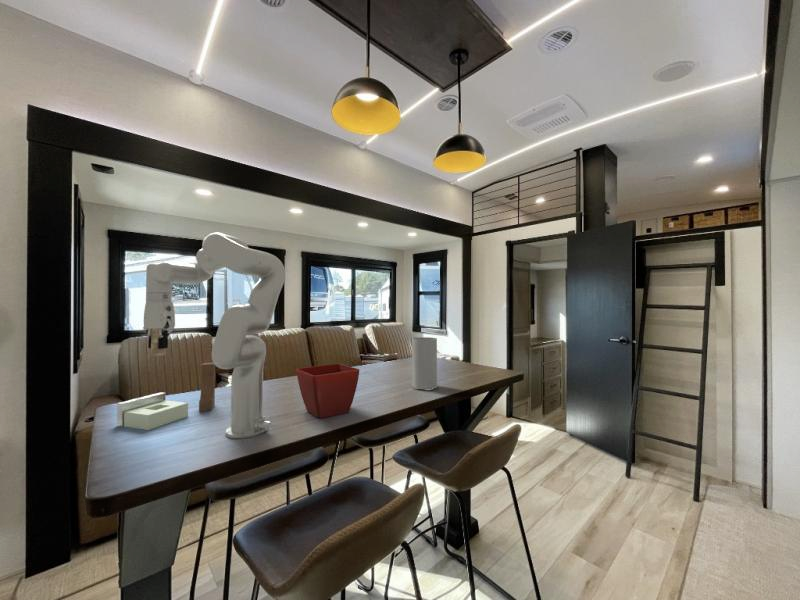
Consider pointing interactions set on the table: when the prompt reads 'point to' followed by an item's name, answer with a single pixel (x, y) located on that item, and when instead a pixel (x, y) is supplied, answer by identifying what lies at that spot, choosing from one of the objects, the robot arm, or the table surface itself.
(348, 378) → the plant pot
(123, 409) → the backstop board
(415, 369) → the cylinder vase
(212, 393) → the wooden block
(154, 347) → the wooden dowel
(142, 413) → the socket block
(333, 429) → the table surface
